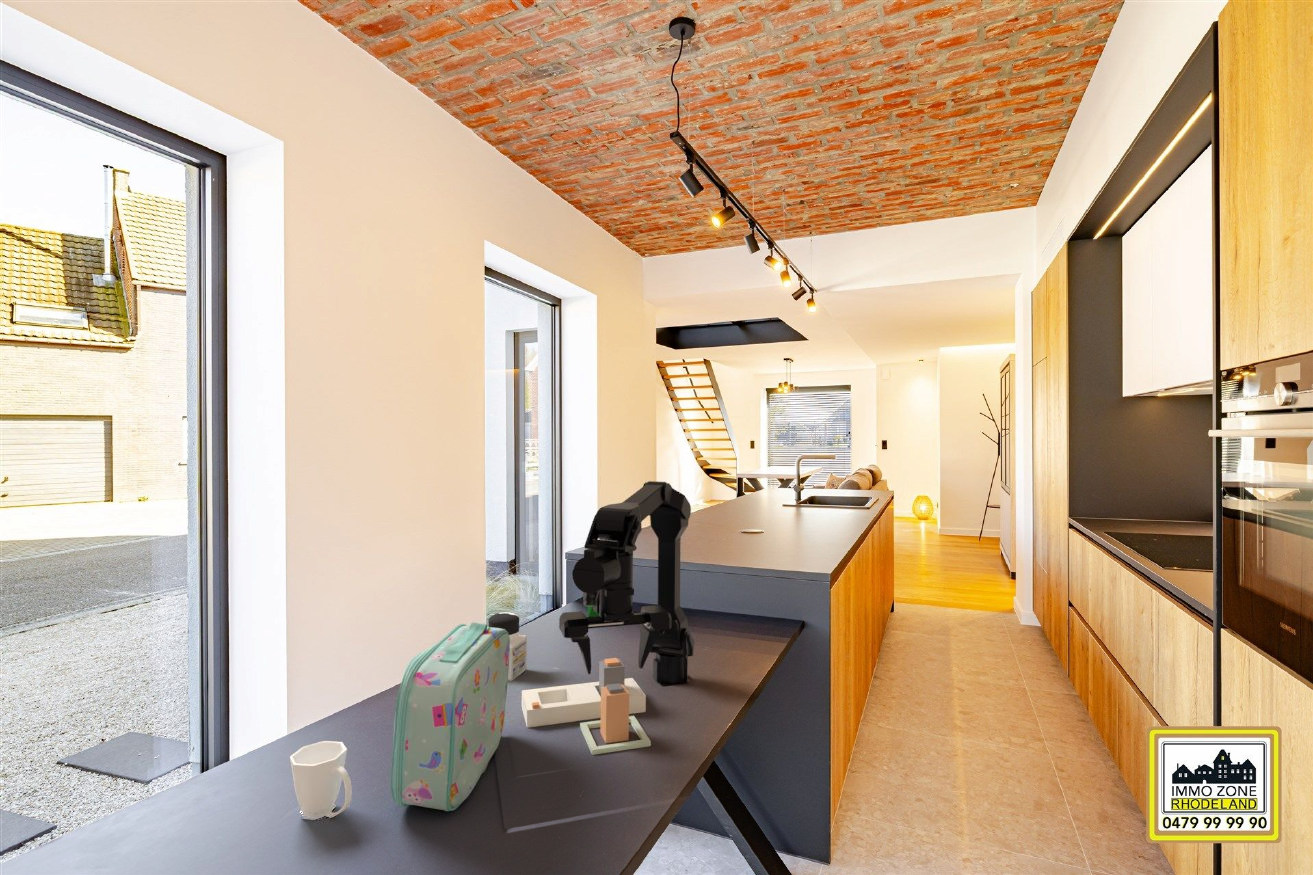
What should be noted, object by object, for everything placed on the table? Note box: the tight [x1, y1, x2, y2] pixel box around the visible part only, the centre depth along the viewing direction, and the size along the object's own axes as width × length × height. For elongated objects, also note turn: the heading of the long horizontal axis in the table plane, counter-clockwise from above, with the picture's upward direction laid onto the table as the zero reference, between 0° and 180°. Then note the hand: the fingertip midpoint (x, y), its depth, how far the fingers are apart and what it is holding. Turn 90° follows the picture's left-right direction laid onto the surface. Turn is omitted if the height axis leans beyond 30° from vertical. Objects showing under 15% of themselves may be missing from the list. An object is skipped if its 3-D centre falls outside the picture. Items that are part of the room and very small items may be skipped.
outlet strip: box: [521, 677, 647, 728], centre depth 116 cm, size 22×9×4 cm, turn 108°
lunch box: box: [390, 622, 510, 812], centre depth 95 cm, size 27×10×21 cm, turn 178°
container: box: [487, 611, 528, 681], centre depth 134 cm, size 8×8×13 cm
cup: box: [289, 740, 353, 819], centre depth 84 cm, size 7×10×8 cm
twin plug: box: [598, 657, 626, 696], centre depth 118 cm, size 4×4×9 cm
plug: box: [599, 683, 630, 744], centre depth 106 cm, size 4×4×9 cm
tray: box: [579, 715, 652, 756], centre depth 106 cm, size 10×10×1 cm
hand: (615, 670), depth 106 cm, fingers open, 9 cm apart
